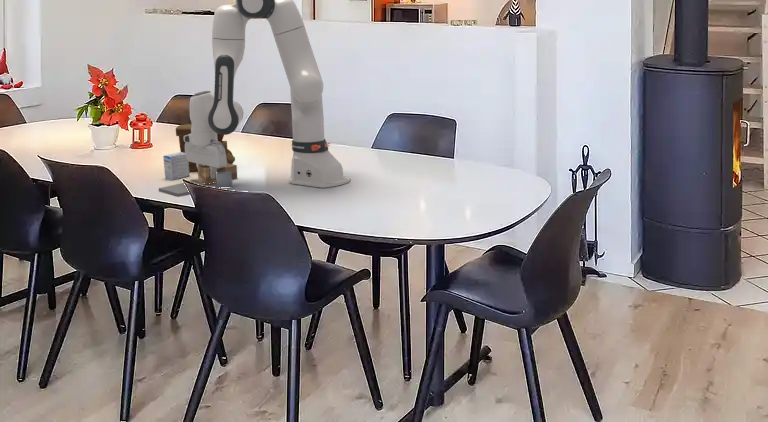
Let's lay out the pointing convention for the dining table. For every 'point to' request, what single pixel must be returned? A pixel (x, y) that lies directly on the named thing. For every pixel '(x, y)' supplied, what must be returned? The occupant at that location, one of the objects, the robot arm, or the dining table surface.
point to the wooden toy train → (181, 132)
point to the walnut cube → (229, 170)
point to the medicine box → (176, 166)
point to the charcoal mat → (175, 190)
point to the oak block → (205, 175)
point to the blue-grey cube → (224, 179)
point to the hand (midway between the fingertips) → (207, 177)
